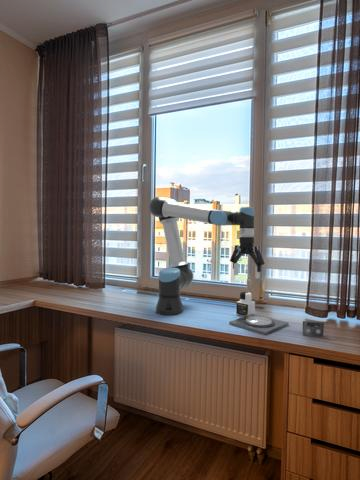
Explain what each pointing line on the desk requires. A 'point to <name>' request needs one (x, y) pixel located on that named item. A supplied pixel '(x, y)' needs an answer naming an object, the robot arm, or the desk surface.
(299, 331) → the desk surface
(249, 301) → the medicine bottle
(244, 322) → the plate
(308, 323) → the mini dv tape
